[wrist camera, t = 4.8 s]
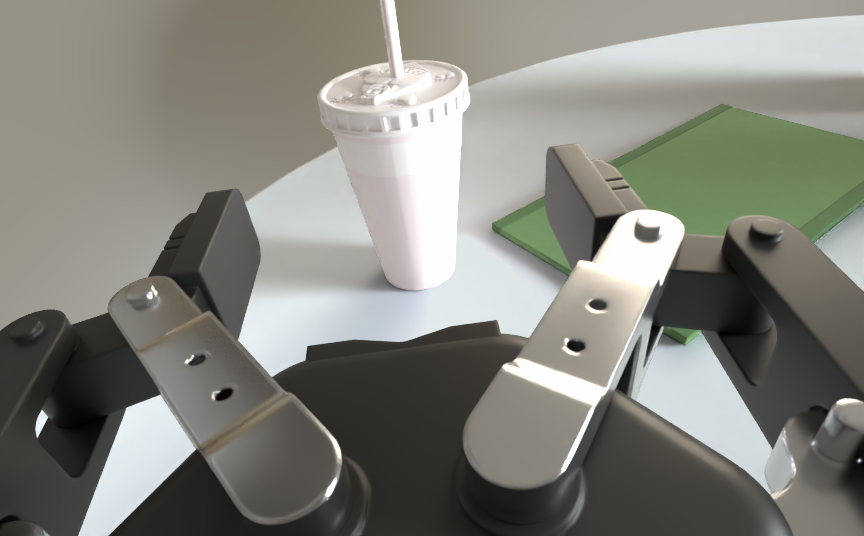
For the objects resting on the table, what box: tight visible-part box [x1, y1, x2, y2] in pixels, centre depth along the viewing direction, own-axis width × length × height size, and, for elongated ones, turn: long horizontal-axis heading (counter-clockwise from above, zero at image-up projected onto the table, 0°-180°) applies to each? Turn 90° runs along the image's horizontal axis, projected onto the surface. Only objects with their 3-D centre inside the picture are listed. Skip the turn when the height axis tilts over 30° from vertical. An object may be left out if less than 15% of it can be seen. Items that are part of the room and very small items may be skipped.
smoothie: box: [317, 0, 470, 290], centre depth 24 cm, size 6×6×14 cm
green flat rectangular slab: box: [492, 104, 864, 345], centre depth 31 cm, size 22×12×1 cm, turn 126°
